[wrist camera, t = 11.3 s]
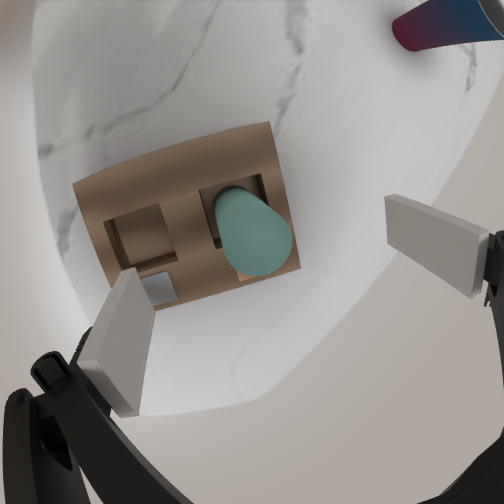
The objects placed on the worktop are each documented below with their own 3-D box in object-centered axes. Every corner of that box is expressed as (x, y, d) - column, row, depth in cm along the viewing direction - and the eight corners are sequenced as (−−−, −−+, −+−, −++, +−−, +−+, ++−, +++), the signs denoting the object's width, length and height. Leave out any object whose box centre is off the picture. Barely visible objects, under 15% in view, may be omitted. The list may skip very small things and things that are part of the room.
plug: (208, 191, 27) (215, 220, 16) (249, 180, 27) (285, 201, 16) (219, 230, 28) (233, 284, 17) (258, 219, 29) (297, 265, 17)
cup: (427, 64, 26) (517, 51, 12) (387, 47, 25) (480, 17, 11) (423, 24, 24) (504, 1, 10) (384, 5, 22) (465, -34, 8)
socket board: (86, 179, 24) (70, 184, 21) (260, 124, 26) (270, 120, 22) (132, 301, 30) (125, 320, 26) (290, 255, 31) (301, 269, 28)
